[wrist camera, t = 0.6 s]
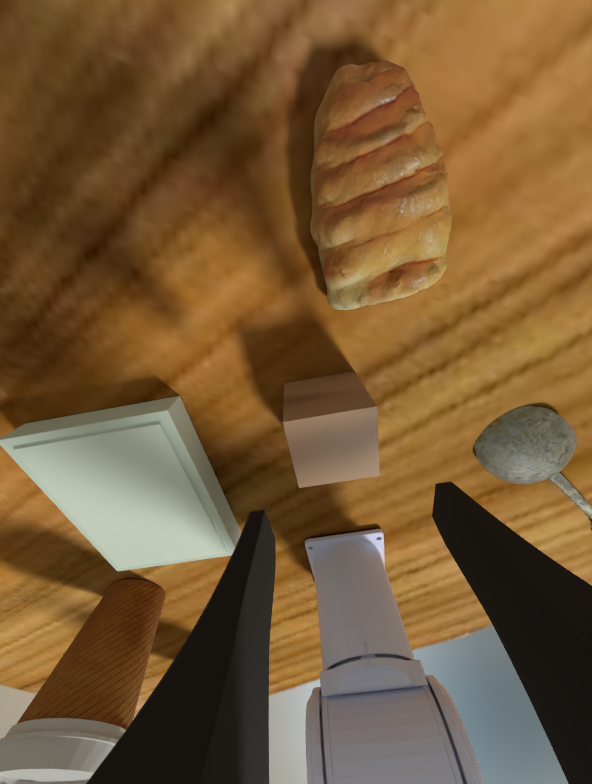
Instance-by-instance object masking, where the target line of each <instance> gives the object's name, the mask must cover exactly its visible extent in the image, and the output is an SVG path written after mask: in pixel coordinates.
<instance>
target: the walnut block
mask: <svg viewBox="0 0 592 784" xmlns="http://www.w3.org/2000/svg"><path fill="white" fill-rule="evenodd" d="M283 425H284V429H285V433H286V437H287V441H288V445H289V449H290V454H291V458H292V462H293V466H294V470H295V474H296V478H297V482H298V486H299V488H303V487H310V486H316V485H322V484H329V483H335V482H342V481H348V480H355V479H361V478H368V477H374V476H380V475H379V448H378V421H377V405H376V404H375V402H374V401H373V399H372V398H371V396H370V395H369V393H368V392H367V390H366V388H365V387H364V385H363V384H362V382H361V381H360V379H359V378H358V376H357V374H356V373H355V371H350V372H345V373H339V374H334V375H328V376H323V377H317V378H311V379H306V380H300V381H295V382H289V383H284V399H283Z"/></svg>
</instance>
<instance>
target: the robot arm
mask: <svg viewBox="0 0 592 784" xmlns="http://www.w3.org/2000/svg"><path fill="white" fill-rule="evenodd" d="M432 517H433V519H434V521H435V523H436V526H437V528H438V530H439V532H440V534H441V536H442V538H443V540H444V543H445V544H446V546H447V548H448V549H449V551H450V553H451V555H452V556H453V558H454V560H455V561H456V563H457V565H458V566H459V568H460V570H461V571H462V573H463V575H464V576H465V578H466V580H467V581H468V583H469V585H470V586H471V588H472V590H473V591H474V593H475V595H476V596H477V598H478V600H479V601H480V603H481V605H482V606H483V608H484V610H485V611H486V613H487V615H488V617H489V619H490V620H491V622H492V624H493V626H494V628H495V630H496V632H497V634H498V636H499V638H500V640H501V642H502V643H503V645H504V648H505V649H506V651H507V653H508V655H509V657H510V659H511V661H512V663H513V665H514V668H515V670H516V672H517V674H518V676H519V678H520V680H521V682H522V684H523V686H524V688H525V690H526V692H527V694H528V696H529V698H530V700H531V702H532V704H533V707H534V709H535V711H536V713H537V715H538V717H539V720H540V722H541V724H542V726H543V728H544V730H545V732H546V735H547V737H548V739H549V741H550V743H551V745H552V747H553V750H554V752H555V754H556V756H557V759H558V761H559V763H560V765H561V767H562V770H563V772H564V774H565V776H566V779H567V781H568V783H569V784H592V586H591V585H590V584H588V583H587V582H585V581H584V580H582V579H581V578H579V577H578V576H576V575H575V574H573V573H572V572H570V571H569V570H567V569H566V568H564V567H563V566H561V565H560V564H558V563H557V562H555V561H554V560H552V559H551V558H550V557H548V556H547V555H545V554H544V553H543V552H541V551H540V550H538V549H537V548H536V547H534V546H533V545H531V544H530V543H529V542H527V541H526V540H524V539H523V538H522V537H520V536H519V535H518V534H516V533H515V532H514V531H512V530H511V529H510V528H509V527H507V526H506V525H505V524H503V523H502V522H501V521H499V520H498V519H497V518H496V517H494V516H493V515H492V514H490V513H489V512H488V511H487V510H485V509H484V508H483V507H482V506H480V505H479V504H478V503H477V502H475V501H474V500H473V499H472V498H471V497H469V496H468V495H467V494H466V493H464V492H463V491H462V490H461V489H460V488H458V487H457V486H456V485H455V484H453V483H452V482H446V483H439V484H436V487H435V496H434V505H433V514H432ZM305 547H306V551H307V555H308V558H309V562H310V566H311V569H312V573H313V577H314V580H315V584H316V595H317V606H318V617H319V629H320V640H321V651H322V663H323V671H320V682H321V687H317V688H314V689H313V691H312V695H311V696H310V698H309V700H308V702H307V708H306V762H307V780H308V784H485V783H484V780H483V777H482V774H481V771H480V768H479V765H478V762H477V759H476V757H475V754H474V751H473V748H472V746H471V743H470V740H469V738H468V735H467V733H466V730H465V728H464V725H463V723H462V721H461V718H460V716H459V714H458V711H457V709H456V707H455V705H454V703H453V701H452V699H451V697H450V695H449V694H448V693H447V691H446V689H445V688H444V687H443V686H442V685H441V684H440V683H439V682H438V681H437V680H436V679H435V678H434V677H433V676H431V675H426V676H425V673H424V671H423V668H422V664H421V662H420V661H419V660H415V659H414V656H413V653H412V650H411V647H410V644H409V641H408V638H407V634H406V631H405V628H404V625H403V622H402V619H401V616H400V613H399V610H398V607H397V604H396V600H395V597H394V594H393V591H392V588H391V585H390V582H389V579H388V576H387V573H386V570H385V564H384V534H383V531H382V530H381V529H374V530H367V531H360V532H353V533H346V534H339V535H332V536H325V537H318V538H311V539H307V540H306V541H305ZM274 579H275V537H274V534H273V532H272V529H271V526H270V523H269V520H268V518H267V515H266V512H265V510H260V511H254V512H250V513H249V515H248V518H247V521H246V523H245V526H244V528H243V531H242V533H241V535H240V538H239V540H238V542H237V545H236V547H235V549H234V552H233V554H232V556H231V558H230V560H229V562H228V564H227V567H226V569H225V571H224V573H223V575H222V577H221V579H220V581H219V583H218V585H217V587H216V589H215V591H214V593H213V594H212V596H211V598H210V600H209V602H208V604H207V606H206V607H205V609H204V611H203V613H202V615H201V616H200V618H199V620H198V622H197V623H196V625H195V627H194V628H193V630H192V632H191V634H190V635H189V637H188V638H187V640H186V642H185V643H184V645H183V646H182V648H181V650H180V651H179V653H178V655H177V656H176V658H175V659H174V661H173V662H172V664H171V666H170V667H169V669H168V670H167V672H166V673H165V675H164V676H163V678H162V679H161V681H160V682H159V684H158V685H157V686H156V688H155V689H154V691H153V692H152V694H151V695H150V697H149V698H148V699H147V701H146V702H145V704H144V705H143V707H142V708H141V710H140V711H139V712H138V714H137V715H136V717H135V718H134V720H133V721H132V722H131V724H130V725H129V727H128V728H127V729H126V731H125V732H124V734H123V735H122V736H121V738H120V739H119V740H118V742H117V743H116V744H115V746H114V747H113V748H112V750H111V751H110V752H109V754H108V755H107V756H106V758H105V759H104V760H103V762H102V763H101V764H100V766H99V767H98V768H97V770H96V771H95V772H94V774H93V775H92V776H91V778H90V779H89V780H88V781H87V783H86V784H269V732H268V731H269V728H268V723H269V722H268V720H269V719H268V718H269V717H268V716H269V715H268V714H269V713H268V710H269V709H268V708H269V642H270V627H271V615H272V603H273V592H274Z"/></svg>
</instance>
